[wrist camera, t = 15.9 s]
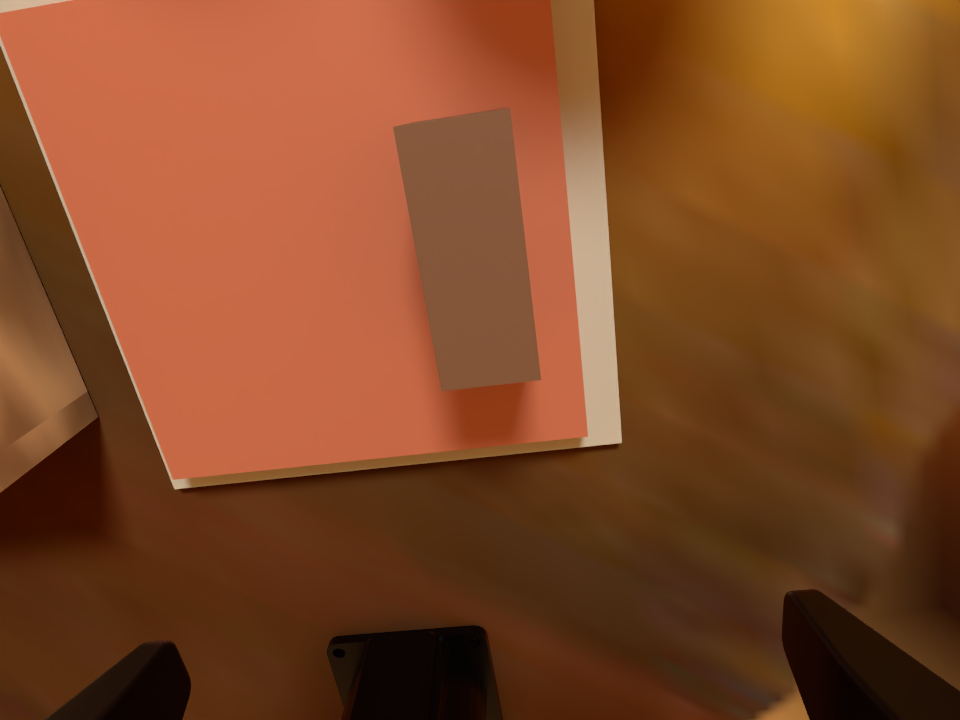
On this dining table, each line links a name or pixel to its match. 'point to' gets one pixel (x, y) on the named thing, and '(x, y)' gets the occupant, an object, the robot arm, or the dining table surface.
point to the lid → (318, 219)
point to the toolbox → (32, 365)
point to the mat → (587, 239)
